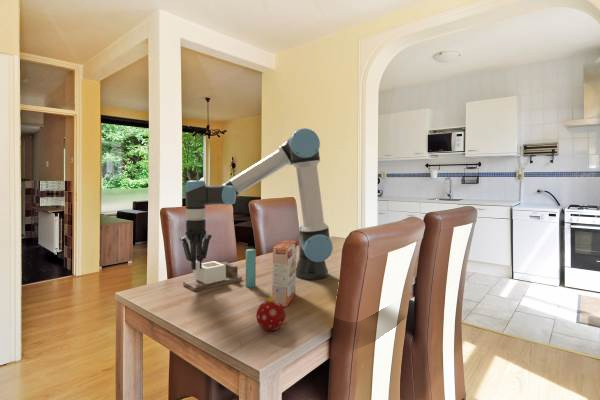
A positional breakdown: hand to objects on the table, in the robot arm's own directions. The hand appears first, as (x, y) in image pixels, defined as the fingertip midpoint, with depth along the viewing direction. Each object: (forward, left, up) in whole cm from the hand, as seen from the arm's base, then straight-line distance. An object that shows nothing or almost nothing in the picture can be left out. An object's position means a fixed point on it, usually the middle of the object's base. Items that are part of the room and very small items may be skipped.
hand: (196, 276), depth 139 cm
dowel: (-14, -17, -4) cm, 22 cm away
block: (0, -6, -3) cm, 7 cm away
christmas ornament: (-50, +2, -4) cm, 50 cm away
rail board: (0, -8, -4) cm, 9 cm away
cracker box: (-35, -17, -4) cm, 39 cm away
